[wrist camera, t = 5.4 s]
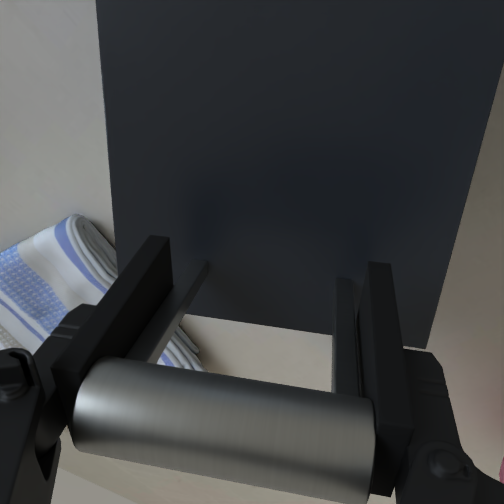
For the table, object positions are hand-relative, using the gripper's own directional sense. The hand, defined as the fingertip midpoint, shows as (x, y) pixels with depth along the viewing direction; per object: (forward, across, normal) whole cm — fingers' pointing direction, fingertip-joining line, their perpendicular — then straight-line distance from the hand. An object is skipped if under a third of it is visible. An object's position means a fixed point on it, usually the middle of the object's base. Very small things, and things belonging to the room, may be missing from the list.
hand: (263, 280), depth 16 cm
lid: (+4, 0, +4) cm, 6 cm away
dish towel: (+14, -20, -18) cm, 31 cm away
